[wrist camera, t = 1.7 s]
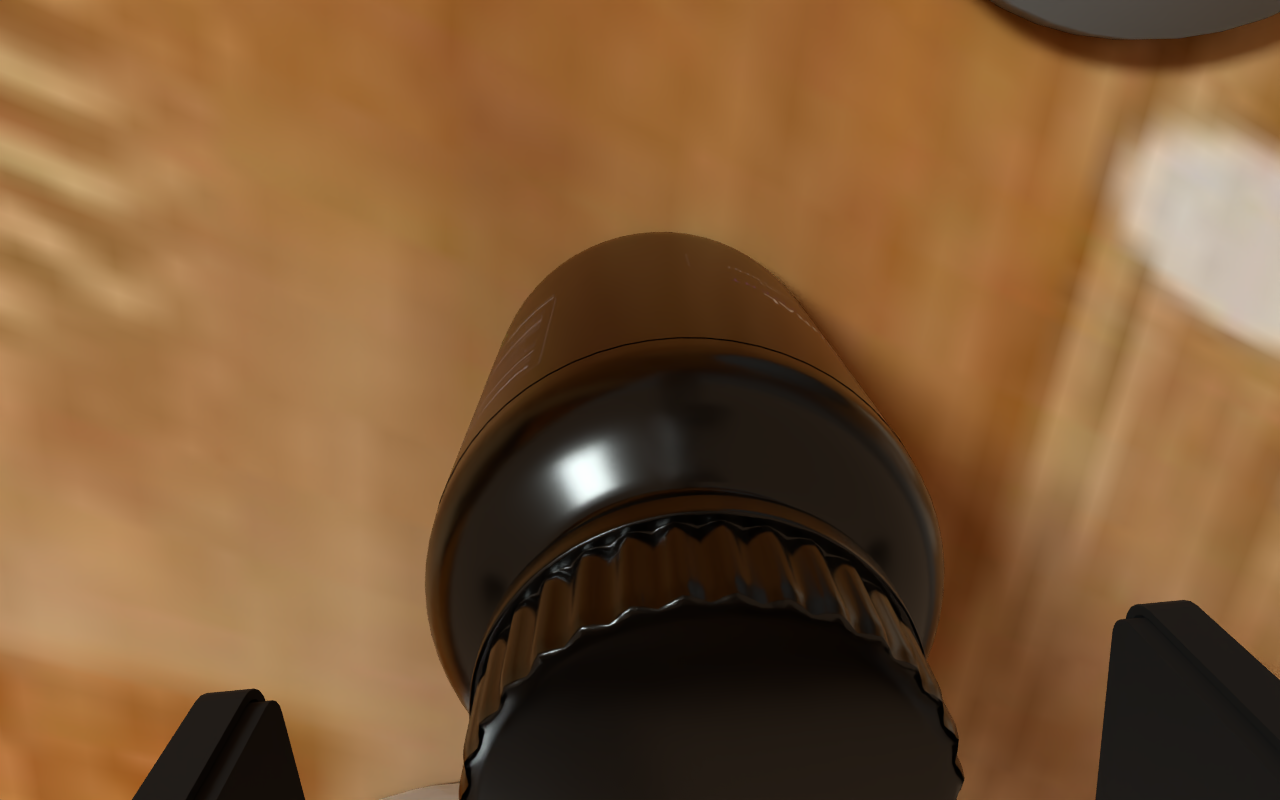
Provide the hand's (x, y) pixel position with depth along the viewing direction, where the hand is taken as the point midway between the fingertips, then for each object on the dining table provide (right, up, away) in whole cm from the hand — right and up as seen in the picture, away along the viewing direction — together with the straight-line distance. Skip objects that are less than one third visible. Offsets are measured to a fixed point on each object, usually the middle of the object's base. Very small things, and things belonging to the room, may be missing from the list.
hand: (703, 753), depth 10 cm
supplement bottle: (0, +4, +10) cm, 11 cm away
